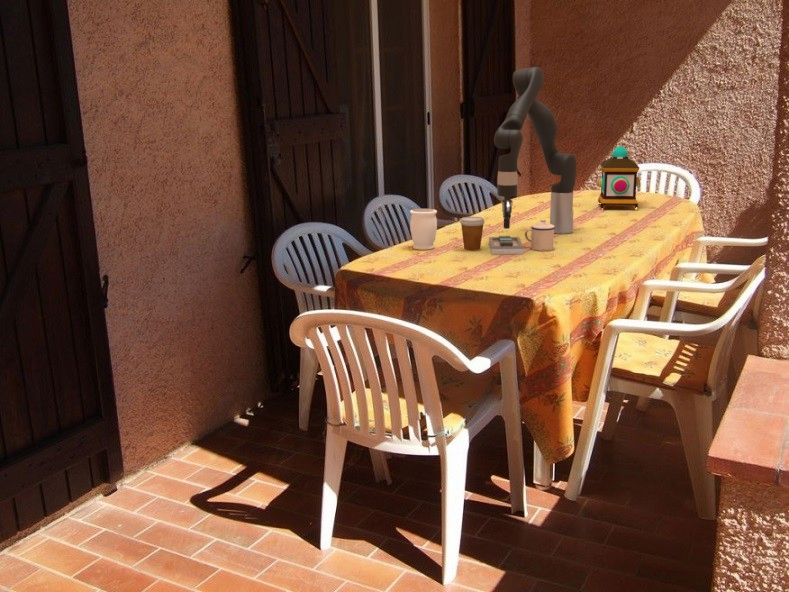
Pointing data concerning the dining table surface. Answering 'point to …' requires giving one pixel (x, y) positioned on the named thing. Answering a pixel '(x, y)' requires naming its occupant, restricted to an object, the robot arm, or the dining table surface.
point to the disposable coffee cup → (472, 232)
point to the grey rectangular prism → (504, 237)
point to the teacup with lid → (541, 236)
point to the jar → (423, 228)
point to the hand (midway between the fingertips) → (506, 228)
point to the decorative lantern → (619, 180)
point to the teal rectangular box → (505, 239)
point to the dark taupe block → (506, 243)
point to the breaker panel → (499, 249)
